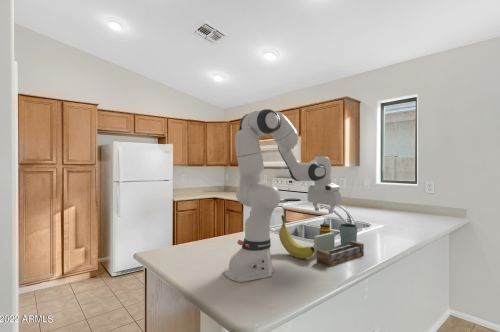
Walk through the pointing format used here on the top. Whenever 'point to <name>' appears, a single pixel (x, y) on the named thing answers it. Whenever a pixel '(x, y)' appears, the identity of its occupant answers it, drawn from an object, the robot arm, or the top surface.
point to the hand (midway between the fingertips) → (323, 211)
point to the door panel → (323, 242)
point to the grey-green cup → (348, 233)
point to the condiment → (324, 229)
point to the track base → (340, 254)
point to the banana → (293, 244)
